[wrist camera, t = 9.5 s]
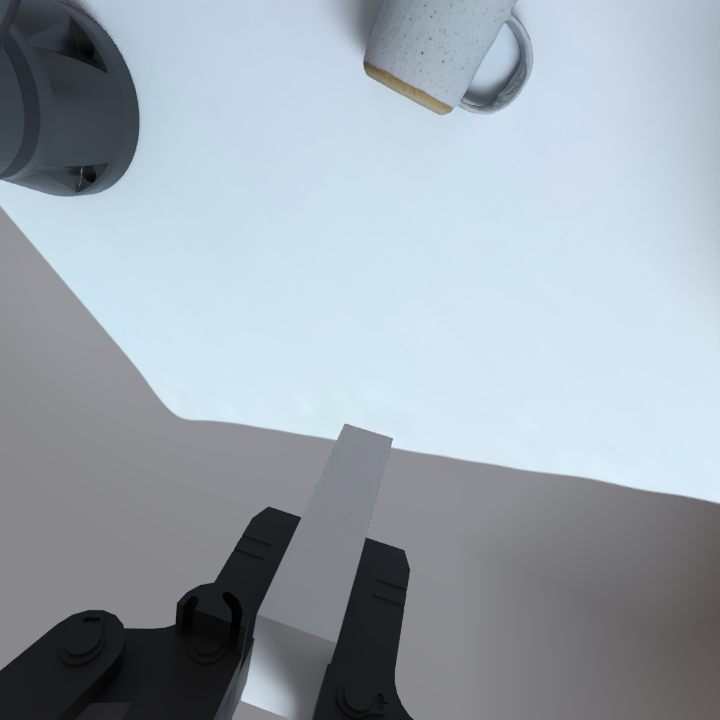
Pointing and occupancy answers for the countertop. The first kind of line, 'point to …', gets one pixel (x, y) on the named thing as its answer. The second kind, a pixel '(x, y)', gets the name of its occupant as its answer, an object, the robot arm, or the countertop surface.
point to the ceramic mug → (442, 50)
